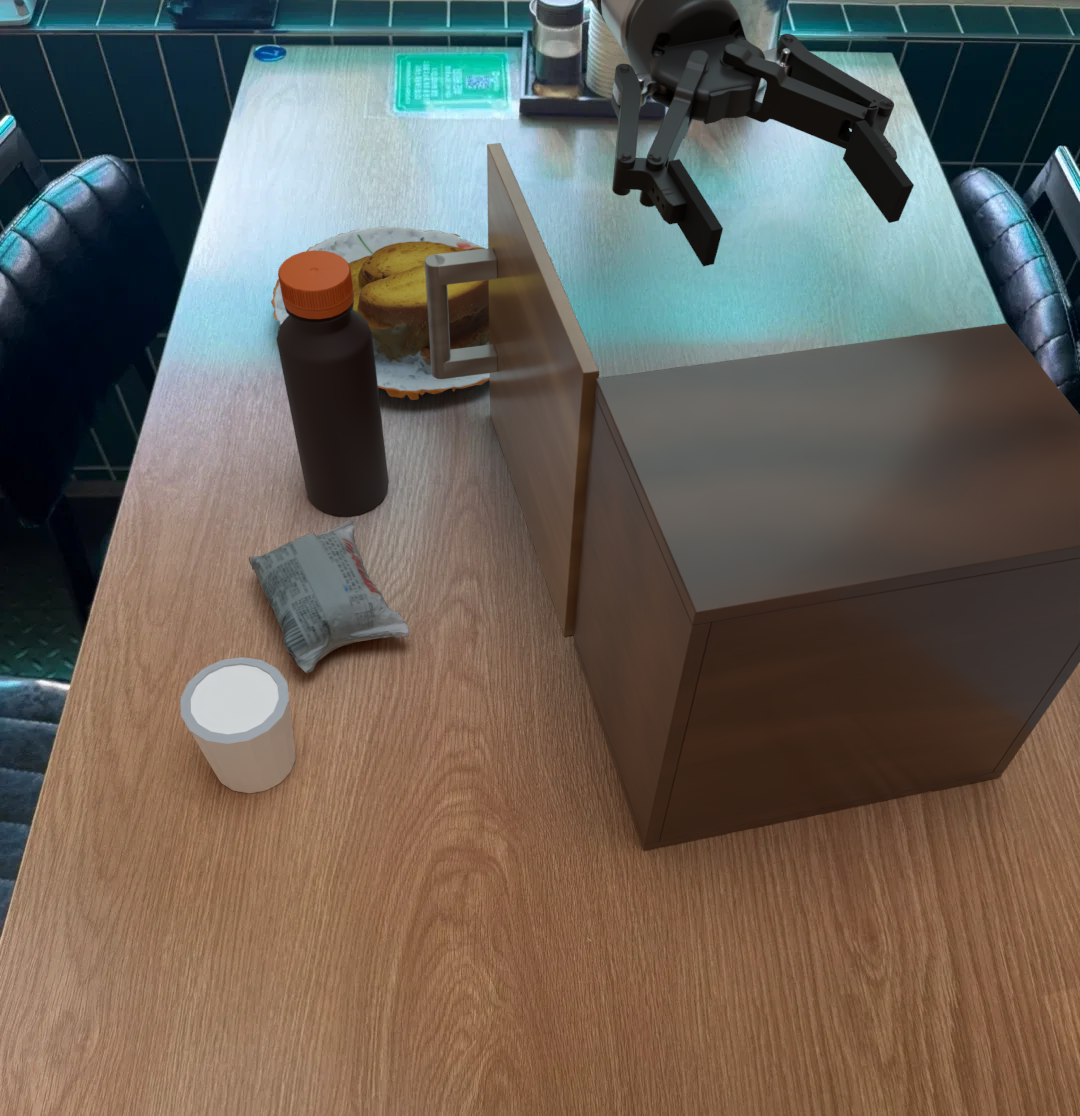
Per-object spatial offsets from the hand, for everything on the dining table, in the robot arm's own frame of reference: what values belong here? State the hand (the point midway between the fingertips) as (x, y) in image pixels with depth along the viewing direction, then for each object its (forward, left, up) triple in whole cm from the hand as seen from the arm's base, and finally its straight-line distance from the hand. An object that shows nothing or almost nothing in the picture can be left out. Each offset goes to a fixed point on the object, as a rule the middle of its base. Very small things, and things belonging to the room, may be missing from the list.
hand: (809, 226), depth 70 cm
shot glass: (+41, +15, -26) cm, 50 cm away
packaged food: (+34, +3, -26) cm, 43 cm away
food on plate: (+22, -31, -26) cm, 46 cm away
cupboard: (+4, +19, -25) cm, 32 cm away
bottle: (+31, -10, -26) cm, 41 cm away
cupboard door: (+19, -4, -25) cm, 32 cm away
